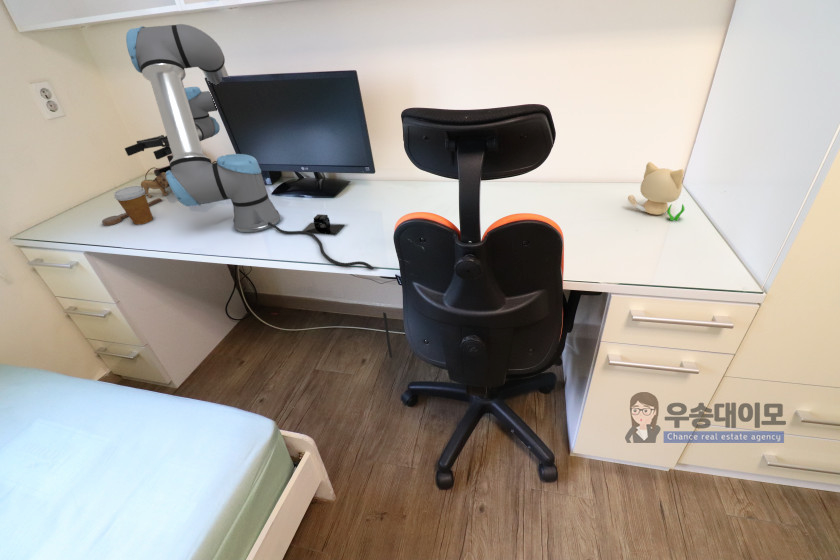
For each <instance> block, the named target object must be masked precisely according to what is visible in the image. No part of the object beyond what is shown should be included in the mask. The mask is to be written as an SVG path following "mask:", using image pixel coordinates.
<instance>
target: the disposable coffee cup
mask: <svg viewBox="0 0 840 560" xmlns="http://www.w3.org/2000/svg"><path fill="white" fill-rule="evenodd" d="M113 195H114V196H113V198H114V199H115V200H116V201H117V202H118V203H119V205H120V206H121V207H122V209H123V210H124V213H127V214H128V218H129V219H130V220H131V222H132V223H133V224H134V225H136V226H137V225H144V224H147V223H150V222H152V220H154V217H153V214H152V211H151V208H150V206H149V205H148V202H149V201H148V199H147V195H145V190H144V188H142V187H141V185H132V186H127V187H124V188H121V189H118V190H115V191H114V193H113Z"/></svg>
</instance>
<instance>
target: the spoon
mask: <svg viewBox="0 0 840 560" xmlns="http://www.w3.org/2000/svg"><path fill="white" fill-rule="evenodd" d="M162 201H163V199H162V198H161V197H160V198H159V197H157V198H155V199H153V200H150V201H147V202H148V205H149V207H151V206H153V205H156V204H158V203H160V202H162ZM126 218H129V216H128V214H127V213H126V212H123V213H120V214H118V215H111V216H107V217H105V218H103V219H102V220H101V223H102V225H103V226H105V227H108V226H113V225H116V224H119V223H121V222H122V221H123V219H126Z"/></svg>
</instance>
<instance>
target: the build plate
mask: <svg viewBox="0 0 840 560" xmlns="http://www.w3.org/2000/svg"><path fill="white" fill-rule="evenodd" d="M345 226H346V225H345V224H343V223H342V224H341V223H331V221H330V218H329V215H328V214H316V215H315V216H314V217H313V221H312V222H310V223H309V224H308V225H307V226H306V227H305V228H304V229H303V230H302V231H307V232H310V233H312V234H314V235H330V236H337V235H338V234H339V232H341V231H342V229H343V228H344V227H345Z"/></svg>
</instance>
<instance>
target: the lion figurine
mask: <svg viewBox="0 0 840 560" xmlns="http://www.w3.org/2000/svg"><path fill="white" fill-rule="evenodd" d="M140 186H141V187H142V188H143V189H144V190H145V196H148V198H152V197H153V195H152V194H150V193H149V190H150V189H152V190H160V192H161V193H162V196H165V197H166V196H168V194H169V192H168V191H166V188H168V187H169V183H168V181H167V178H166V172H160V173H159V174H158V175H157V176H156V177H154V179H153V180H147V179H145V180H142V181H141V182H140Z"/></svg>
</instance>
